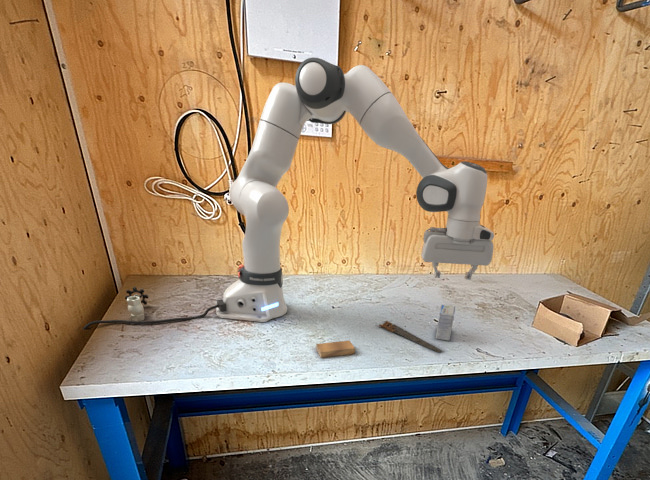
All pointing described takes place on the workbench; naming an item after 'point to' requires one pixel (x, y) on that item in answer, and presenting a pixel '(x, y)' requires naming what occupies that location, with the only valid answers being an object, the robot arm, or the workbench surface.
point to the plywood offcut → (335, 349)
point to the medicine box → (445, 322)
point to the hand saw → (407, 335)
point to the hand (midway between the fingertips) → (452, 278)
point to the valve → (136, 304)
